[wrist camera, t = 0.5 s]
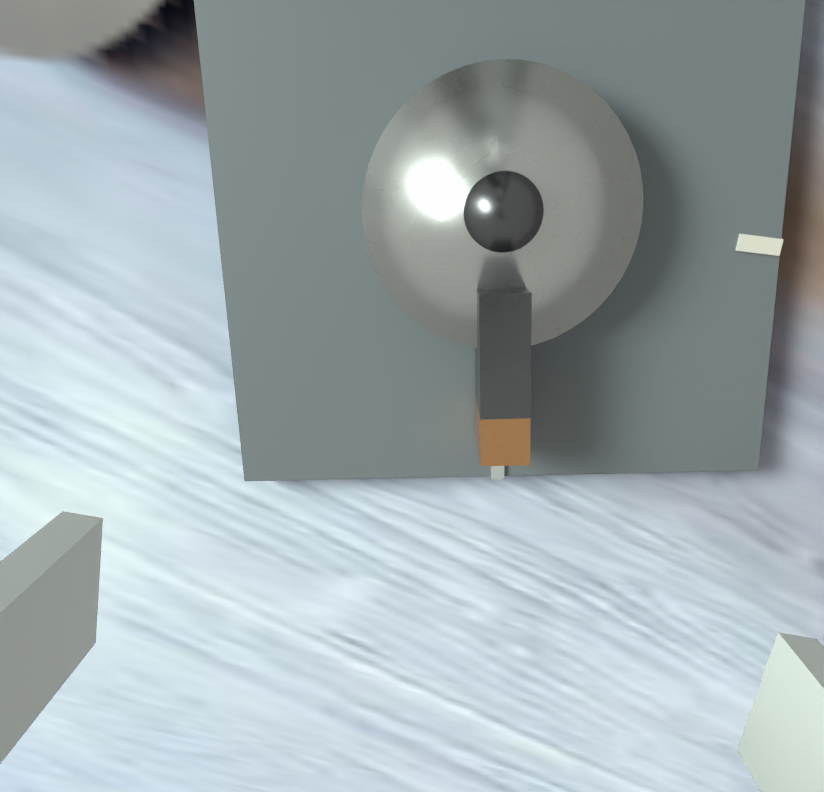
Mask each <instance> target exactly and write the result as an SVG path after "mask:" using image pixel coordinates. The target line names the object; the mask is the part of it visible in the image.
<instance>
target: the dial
mask: <svg viewBox="0 0 824 792" xmlns="http://www.w3.org/2000/svg"><path fill="white" fill-rule="evenodd" d="M642 214H643V184H642V177H641V170H640V166H639V162H638V159H637V155H636V152H635V149H634V147H633V144H632V142H631V140H630V137H629V135H628V133H627V131H626V129H625V128H624V126H623V125H622V123H621V121H620V120H619V118H618V116H617V115H616V114H615V113H614V111H613V110H612V109H611V108H610V106H609V105H608V104H607V103H606V102H605V101H604V100H603V99H602V98H601V97H600V96H599V95H598V94H597V93H596V92H595V91H594V90H592V89H591V88H590V87H589V86H587V85H586V84H584V83H583V82H581V81H580V80H578V79H577V78H575V77H573V76H571V75H569V74H567V73H565V72H563V71H561V70H559V69H557V68H554V67H551V66H548V65H545V64H541V63H537V62H531V61H525V60H514V59H498V60H490V61H481V62H478V63H474V64H470V65H466V66H463V67H460V68H458V69H455V70H453V71H451V72H448V73H446V74H444V75H442V76H440V77H439V78H437V79H435V80H433V81H432V82H430V83H428V84H427V85H426V86H424V87H423V88H422V89H421V90H419V91H418V92H417V93H415V94H414V95H413V96H412V97H411V98H410V99H409V100H408V101H407V102H406V103H405V104H404V105H403V106H402V107H401V108H400V109H399V110H398V111H397V113H396V114H395V115H394V117H393V118H392V119H391V121H390V122H389V123H388V125H387V126H386V128H385V130H384V131H383V133H382V135H381V137H380V138H379V140H378V142H377V144H376V146H375V149H374V151H373V154H372V156H371V159H370V161H369V165H368V169H367V172H366V176H365V180H364V188H363V195H362V223H363V231H364V238H365V242H366V246H367V250H368V254H369V256H370V259H371V262H372V264H373V267H374V269H375V272H376V273H377V275H378V277H379V279H380V281H381V283H382V284H383V286H384V288H385V289H386V290H387V292H388V293H389V295H390V296H391V297H392V299H393V300H394V301H395V302H396V303H397V305H398V306H399V307H400V308H401V309H402V310H403V311H404V312H405V313H406V314H407V315H408V316H410V317H411V318H412V319H413V320H414V321H416V322H417V323H418V324H419V325H421V326H422V327H424V328H426V329H427V330H429V331H431V332H432V333H434V334H436V335H438V336H440V337H442V338H444V339H447V340H449V341H451V342H455V343H458V344H461V345H465V346H469V347H475V398H476V441H477V447H478V453H479V458H480V464H481V466H521V465H530V426H531V345H535V344H539V343H541V342H544V341H547V340H550V339H552V338H555V337H557V336H559V335H561V334H562V333H564V332H566V331H568V330H570V329H572V328H573V327H575V326H576V325H578V324H579V323H580V322H582V321H583V320H585V319H586V318H587V317H588V316H589V315H591V314H592V313H593V312H594V311H595V310H596V309H597V308H598V307H599V306H600V305H601V304H602V303H603V302H604V301H605V300H606V299H607V297H608V296H609V295H610V294H611V293H612V291H613V290H614V288H615V287H616V285H617V284H618V283H619V281H620V280H621V278H622V276H623V274H624V272H625V271H626V269H627V267H628V265H629V263H630V261H631V258H632V255H633V253H634V250H635V248H636V245H637V241H638V237H639V233H640V229H641V223H642Z"/></svg>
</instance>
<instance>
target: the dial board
mask: <svg viewBox="0 0 824 792" xmlns="http://www.w3.org/2000/svg"><path fill="white" fill-rule="evenodd" d="M805 1H806V0H194V7H195V16H196V25H197V35H198V44H199V54H200V63H201V73H202V82H203V92H204V101H205V111H206V120H207V129H208V139H209V148H210V158H211V167H212V177H213V186H214V196H215V205H216V215H217V224H218V234H219V243H220V252H221V262H222V271H223V281H224V290H225V300H226V309H227V319H228V328H229V338H230V347H231V356H232V366H233V375H234V385H235V394H236V404H237V413H238V423H239V432H240V442H241V451H242V461H243V470H244V479H245V481H278V480H326V479H374V478H422V477H470V476H491V480H499V479H504V476H518V475H566V474H614V473H662V472H710V471H758V466H759V457H760V447H761V437H762V427H763V417H764V407H765V397H766V387H767V377H768V367H769V357H770V348H771V338H772V328H773V318H774V308H775V298H776V288H777V278H778V268H779V258H780V252H781V248H782V244H783V240H784V239H782V229H783V219H784V209H785V199H786V189H787V179H788V169H789V159H790V149H791V139H792V130H793V120H794V110H795V100H796V90H797V80H798V70H799V60H800V50H801V40H802V30H803V21H804V11H805ZM498 59H514V60H525V61H531V62H537V63H541V64H545V65H548V66H551V67H554V68H557V69H559V70H561V71H563V72H565V73H567V74H569V75H571V76H573V77H575V78H577V79H578V80H580V81H581V82H583V83H584V84H586V85H587V86H589V87H590V88H591V89H592V90H594V91H595V92H596V93H597V94H598V95H599V96H600V97H601V98H602V99H603V100H604V101H605V102H606V103H607V104H608V105H609V106H610V108H611V109H612V110H613V111H614V113H615V114H616V115H617V116H618V118H619V120H620V121H621V123H622V125H623V126H624V128H625V129H626V131H627V133H628V135H629V137H630V140H631V142H632V144H633V147H634V149H635V152H636V155H637V159H638V162H639V166H640V170H641V177H642V184H643V214H642V223H641V229H640V233H639V237H638V241H637V245H636V248H635V250H634V253H633V255H632V258H631V261H630V263H629V265H628V267H627V269H626V271H625V272H624V274H623V276H622V278H621V280H620V281H619V283H618V284H617V285H616V287H615V288H614V290H613V291H612V293H611V294H610V295H609V296H608V297H607V299H606V300H605V301H604V302H603V303H602V304H601V305H600V306H599V307H598V308H597V309H596V310H595V311H594V312H593V313H592V314H591V315H589V316H588V317H587V318H586V319H585V320H583V321H582V322H580V323H579V324H578V325H576V326H575V327H573V328H572V329H570V330H568V331H566V332H564V333H562V334H561V335H559V336H557V337H555V338H552V339H550V340H547V341H544V342H541V343H539V344H535V345H531V426H530V465H521V466H481V464H480V458H479V453H478V447H477V441H476V398H475V347H469V346H465V345H461V344H458V343H455V342H451V341H449V340H447V339H444V338H442V337H440V336H438V335H436V334H434V333H432V332H431V331H429V330H427V329H426V328H424V327H422V326H421V325H419V324H418V323H417V322H416V321H414V320H413V319H412V318H411V317H410V316H408V315H407V314H406V313H405V312H404V311H403V310H402V309H401V308H400V307H399V306H398V305H397V303H396V302H395V301H394V300H393V299H392V297H391V296H390V295H389V293H388V292H387V290H386V289H385V288H384V286H383V284H382V283H381V281H380V279H379V277H378V275H377V273H376V272H375V269H374V267H373V264H372V262H371V259H370V256H369V254H368V250H367V246H366V242H365V238H364V231H363V223H362V195H363V188H364V180H365V176H366V172H367V169H368V165H369V161H370V159H371V156H372V154H373V151H374V149H375V146H376V144H377V142H378V140H379V138H380V137H381V135H382V133H383V131H384V130H385V128H386V126H387V125H388V123H389V122H390V121H391V119H392V118H393V117H394V115H395V114H396V113H397V111H398V110H399V109H400V108H401V107H402V106H403V105H404V104H405V103H406V102H407V101H408V100H409V99H410V98H411V97H412V96H413V95H414V94H415V93H417V92H418V91H419V90H421V89H422V88H423V87H424V86H426V85H427V84H428V83H430V82H432V81H433V80H435V79H437V78H439V77H440V76H442V75H444V74H446V73H448V72H451V71H453V70H455V69H458V68H460V67H463V66H466V65H470V64H474V63H478V62H481V61H490V60H498Z"/></svg>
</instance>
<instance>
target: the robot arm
mask: <svg viewBox="0 0 824 792" xmlns="http://www.w3.org/2000/svg"><path fill="white" fill-rule="evenodd" d="M102 523H103V518H99V517H93V516H87V515H81V514H75V513H69V512H62V513H60V514H59V515H58V516H57V517H55V518H54V519H53V520H52V521H50V522H49V523H48V524H47V525H45V526H44V527H43V528H42V529H40V530H39V531H38V532H37V533H35V534H34V535H33V536H32V537H31V538H29V539H28V540H27V541H26V542H24V543H23V544H22V545H21V546H19V547H18V548H17V549H16V550H14V551H13V552H12V553H11V554H9V555H8V556H7V557H6V558H4V559H3V560H2V561H1V562H0V764H1V762H2V761H3V760H4V758H5V757H6V756H7V755H8V753H9V752H10V751H11V750H12V748H13V747H14V746H15V745H16V743H17V742H18V741H19V739H20V738H21V737H22V736H23V734H24V733H25V732H26V731H27V729H28V728H29V727H30V725H31V724H32V723H33V722H34V720H35V719H36V718H37V717H38V715H39V714H40V713H41V711H42V710H43V709H44V708H45V706H46V705H47V704H48V703H49V701H50V700H51V699H52V698H53V696H54V695H55V694H56V692H57V691H58V690H59V689H60V687H61V686H62V685H63V684H64V682H65V681H66V680H67V678H68V677H69V676H70V675H71V673H72V672H73V671H74V670H75V668H76V667H77V666H78V664H79V663H80V662H81V661H82V659H83V658H84V657H85V656H86V654H87V653H88V652H89V651H90V649H91V648H92V647H93V645H94V644H95V643H96V627H97V609H98V592H99V575H100V557H101V540H102ZM737 751H738V753H739V754H740V756H741V758H742V760H743V762H744V763H745V765H746V767H747V769H748V770H749V772H750V774H751V776H752V778H753V779H754V781H755V783H756V785H757V787H758V788H759V790H760V792H824V646H823V645H822V644H821V643H820V642H819V641H818V639H813V638H807V637H802V636H796V635H790V634H784V633H778V635H777V638H776V640H775V643H774V646H773V649H772V652H771V655H770V658H769V660H768V663H767V666H766V669H765V672H764V675H763V678H762V680H761V683H760V686H759V689H758V692H757V695H756V698H755V700H754V703H753V706H752V709H751V712H750V715H749V717H748V720H747V723H746V726H745V729H744V732H743V735H742V737H741V740H740V743H739V746H738V749H737Z"/></svg>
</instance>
